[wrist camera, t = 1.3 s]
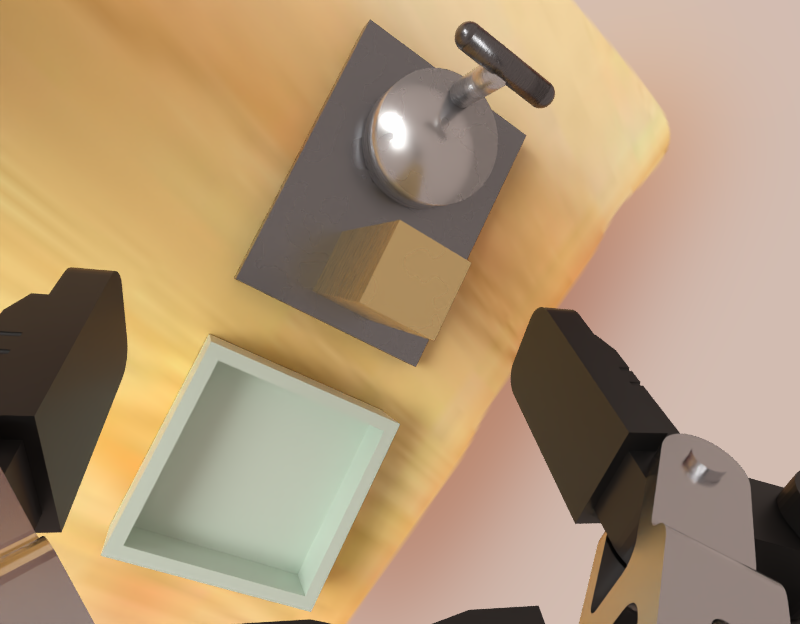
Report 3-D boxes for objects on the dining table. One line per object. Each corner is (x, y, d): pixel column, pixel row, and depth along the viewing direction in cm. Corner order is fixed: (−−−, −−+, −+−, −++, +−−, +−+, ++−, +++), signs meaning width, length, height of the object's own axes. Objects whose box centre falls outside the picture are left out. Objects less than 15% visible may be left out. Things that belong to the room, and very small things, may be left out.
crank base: (233, 278, 33) (251, 284, 24) (363, 29, 35) (427, -58, 25) (407, 363, 38) (479, 396, 29) (514, 140, 40) (616, 101, 30)
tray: (109, 525, 32) (100, 555, 29) (209, 333, 33) (211, 341, 30) (300, 580, 37) (310, 611, 33) (381, 410, 38) (400, 424, 34)
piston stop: (312, 291, 34) (359, 302, 24) (342, 231, 34) (400, 219, 25) (369, 320, 35) (434, 340, 26) (397, 262, 36) (471, 262, 26)
